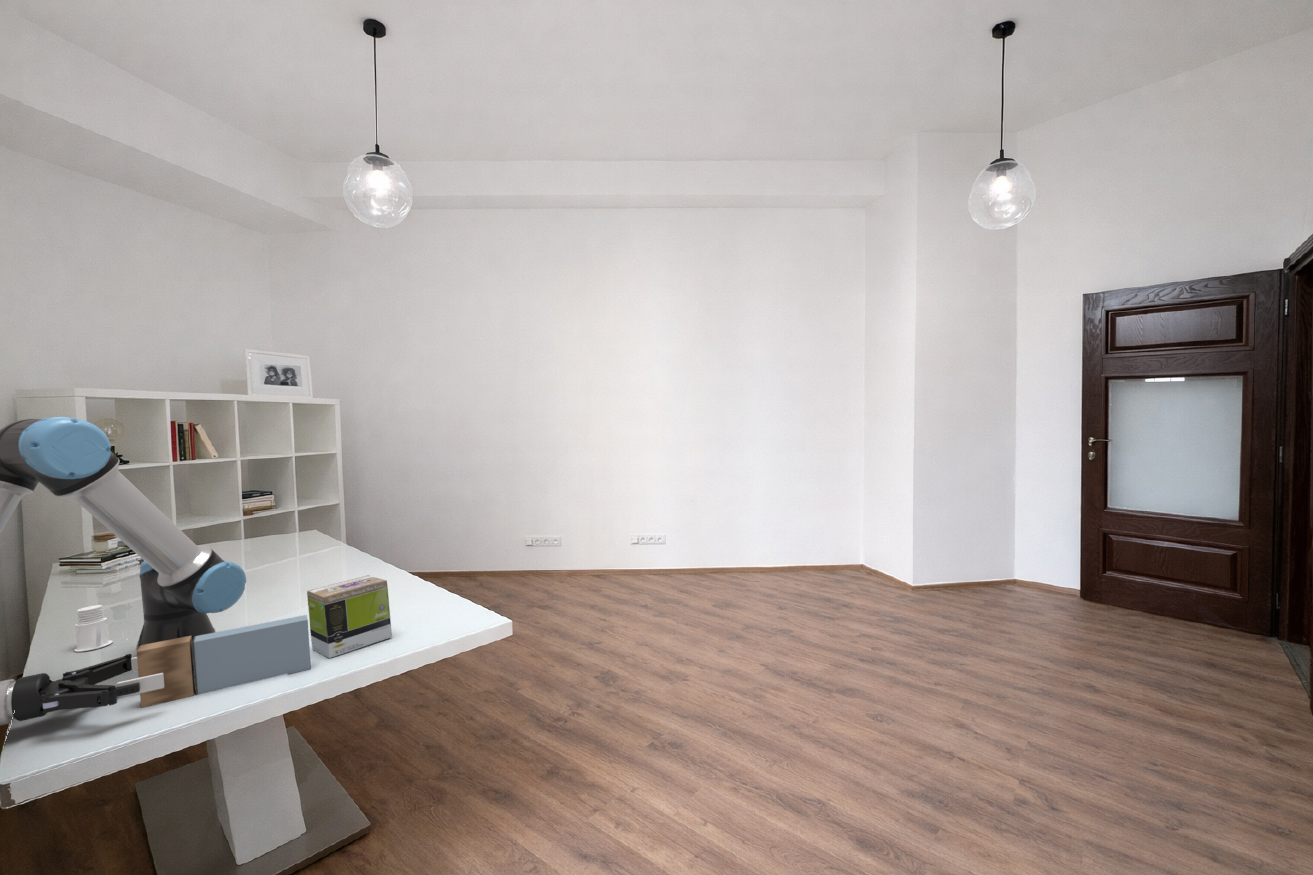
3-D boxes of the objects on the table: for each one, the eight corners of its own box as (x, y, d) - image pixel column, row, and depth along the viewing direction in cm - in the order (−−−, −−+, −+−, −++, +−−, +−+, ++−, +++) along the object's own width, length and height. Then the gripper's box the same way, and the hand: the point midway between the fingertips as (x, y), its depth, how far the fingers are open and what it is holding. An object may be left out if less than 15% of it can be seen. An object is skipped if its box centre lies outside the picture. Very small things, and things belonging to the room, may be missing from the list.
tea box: (373, 630, 153) (370, 573, 152) (392, 638, 146) (389, 579, 146) (310, 649, 141) (306, 588, 140) (328, 660, 135) (323, 595, 134)
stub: (141, 707, 114) (136, 651, 114) (144, 699, 118) (140, 645, 117) (193, 695, 119) (189, 641, 118) (195, 687, 122) (191, 635, 122)
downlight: (118, 644, 149) (114, 604, 149) (80, 654, 143) (76, 613, 143) (106, 640, 154) (102, 602, 153) (69, 650, 148) (65, 610, 147)
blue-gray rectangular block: (196, 696, 119) (191, 642, 118) (198, 688, 122) (194, 636, 122) (311, 669, 130) (307, 619, 129) (309, 662, 133) (306, 614, 133)
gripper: (40, 693, 117) (177, 664, 128) (-9, 752, 96) (160, 711, 108) (37, 656, 116) (175, 630, 128) (-14, 707, 96) (157, 671, 107)
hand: (168, 667), depth 118 cm, fingers open, 13 cm apart
